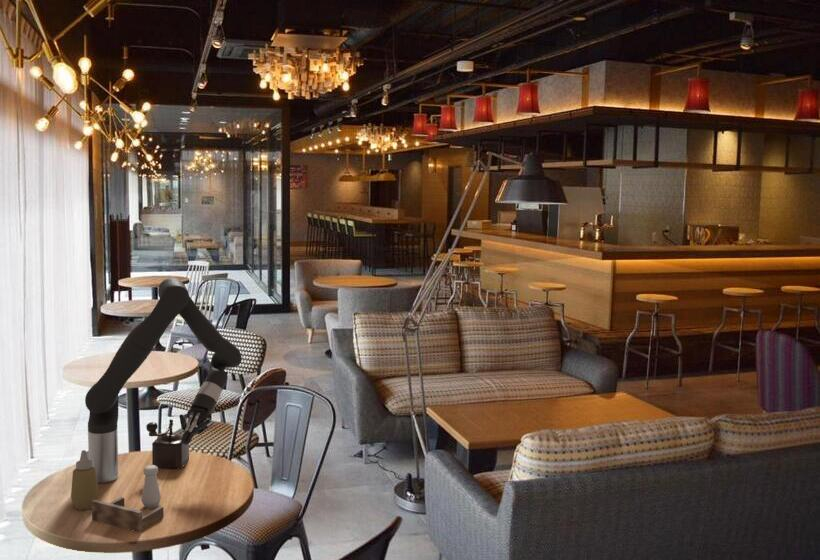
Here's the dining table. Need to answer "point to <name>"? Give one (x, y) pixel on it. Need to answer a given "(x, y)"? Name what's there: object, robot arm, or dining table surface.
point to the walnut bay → (123, 515)
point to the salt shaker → (151, 488)
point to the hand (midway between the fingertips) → (184, 443)
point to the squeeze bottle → (84, 483)
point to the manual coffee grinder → (168, 448)
